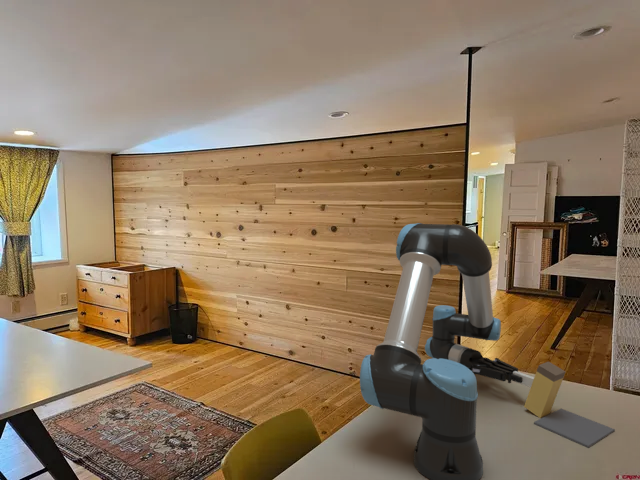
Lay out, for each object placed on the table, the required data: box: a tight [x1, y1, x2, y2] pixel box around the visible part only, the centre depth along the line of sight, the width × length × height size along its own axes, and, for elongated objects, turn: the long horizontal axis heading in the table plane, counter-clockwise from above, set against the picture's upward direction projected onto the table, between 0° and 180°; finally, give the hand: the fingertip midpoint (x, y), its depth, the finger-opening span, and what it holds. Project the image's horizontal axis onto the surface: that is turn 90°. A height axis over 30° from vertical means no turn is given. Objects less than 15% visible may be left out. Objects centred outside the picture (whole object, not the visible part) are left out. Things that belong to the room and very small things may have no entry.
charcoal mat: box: [533, 408, 616, 449], centre depth 115 cm, size 14×14×1 cm
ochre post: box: [523, 361, 566, 419], centre depth 121 cm, size 5×5×14 cm
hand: (534, 383), depth 124 cm, fingers closed
